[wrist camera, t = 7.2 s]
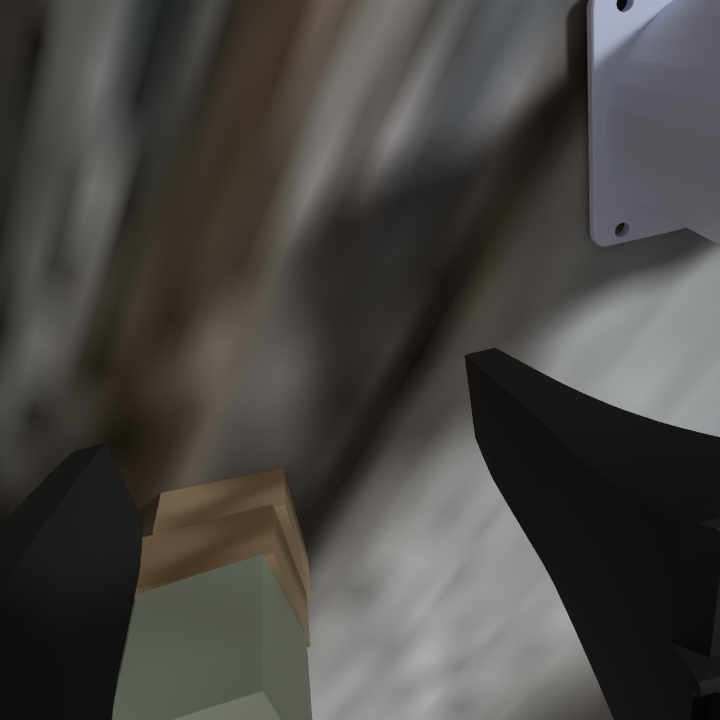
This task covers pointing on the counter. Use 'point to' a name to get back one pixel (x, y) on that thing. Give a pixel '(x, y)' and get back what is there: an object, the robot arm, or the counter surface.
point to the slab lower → (236, 508)
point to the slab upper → (223, 554)
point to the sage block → (215, 650)
